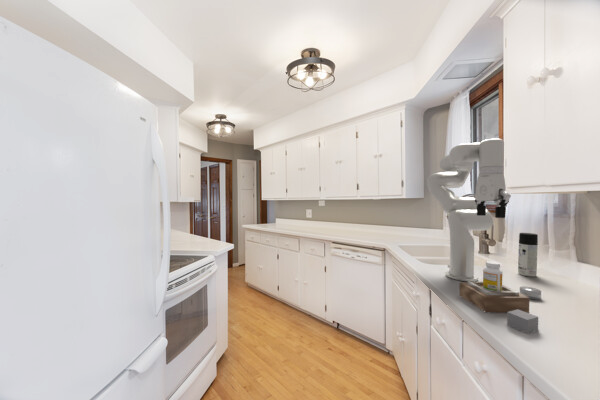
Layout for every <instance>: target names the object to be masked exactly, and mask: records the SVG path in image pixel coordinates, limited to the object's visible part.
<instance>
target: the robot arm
mask: <svg viewBox="0 0 600 400" xmlns="http://www.w3.org/2000/svg"><path fill="white" fill-rule="evenodd" d="M504 154H505V142H504V139H502V138H488V139H484V140H481V142H472V143H471V142H467V143H460V144H458V145H455V146H453V147H452V148H451V149H450V150H449V154H447V155H445V156H444V157H442V158H441V159H440V161H439V165H438V166H439V168H440V170H442V171H445V172H435V173H432V174H430V175H429V176H428V177H427V182H426V183H427V184H426V185H427V189H428V191H429V192H430V194H431V196H432V197H433V198H435V199H436V201H437V202H438V203H439V205H440V206H441V208H442V209H443V211H444V213H445V214H447V222H448V229H449V264H448V265H447V268H449V270H448V271H446V272H445V276H446V277H447V278H449V279H453V280H456V281H461V282H478V280H479V277H478V275H476V274H475V239H474V237H473V235H472V234H471V233H470V231H489V230H490V229H491V228H492V227H493V226H494V218H493V215H492V214H491V212H490V211H489V210H488V209H487V207H486V206H487V205H486V203H487V202H494V204H495V205H496V206H495V208H494V210H495V213H494V215H495V216H494V217H495V218H496V219H504V218H506V207H507V206H508V204H509V203H510V199H511V196H512V195H511V194H510V193H509V192H507V190H506V188H507V187H506V179H505V175H504V174H505V173H504V169H505V167H504V166H505V165H504V164H505V162H504V161H505V159H504V156H505V155H504ZM474 162H478V177H477V180H476V184H475V193H474V194H473V197H471V196H464V197H463V196H457V195H456V194H455V193H454V191H453V190H451V189H459V188H462V187H463V186H464V184H465V183H466V181H467V179H468V177H469V175H470V173H471V171H472V168H473V166H474Z"/></svg>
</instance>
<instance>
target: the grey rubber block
mask: <svg viewBox="0 0 600 400" xmlns="http://www.w3.org/2000/svg"><path fill="white" fill-rule="evenodd" d="M506 314H507V316H506V317H507V318H506V325H507V326H509V327H512V328H513V329H515V330H518V331H520V332H523V333H526V334H531V333H533V332H536V331H539V316H537V315H534V314H531V313H530V312H529V313H527V312H524V311H521V310H519V309H517V310H513V311H509V312H507V313H506Z"/></svg>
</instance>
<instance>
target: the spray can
mask: <svg viewBox="0 0 600 400" xmlns="http://www.w3.org/2000/svg"><path fill="white" fill-rule="evenodd" d="M538 235H539V234H537V233H533V232H519V235H518V261H517V263H518V265H517V266H518V267H517V272H518V273H517V274H518V275H520V276H523V277H529V278H530V277H531V278H535V277H537V273H538V245H539V244H538V243H539V241H538V240H539V239H538V238H539V236H538Z"/></svg>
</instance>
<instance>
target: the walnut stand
mask: <svg viewBox="0 0 600 400" xmlns="http://www.w3.org/2000/svg"><path fill="white" fill-rule="evenodd" d="M458 288H459V291H458V292H459V296H460V297H461V298H463V299H464V300H465V301H467V302H469V303H471V305H473V306H475V307H477V309H480V310H481V311H483V312H484V311H485V312H484V313H486V312H490V314H493V313H494V314H495V313H496V314H499V313H502V314H503V313H505V314H507V312H509V311H513V310H517V309H519V310H521V311H524V312H527V313H529V314H530V299H529V297H527V296H524V295H522V294H520V291H516V290H514V289H512V288H511V287H508V286H505V285H503V284H502V291H488V290H486V289H484V288H483V281H472V282H468V281H461V282H459V287H458Z"/></svg>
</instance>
